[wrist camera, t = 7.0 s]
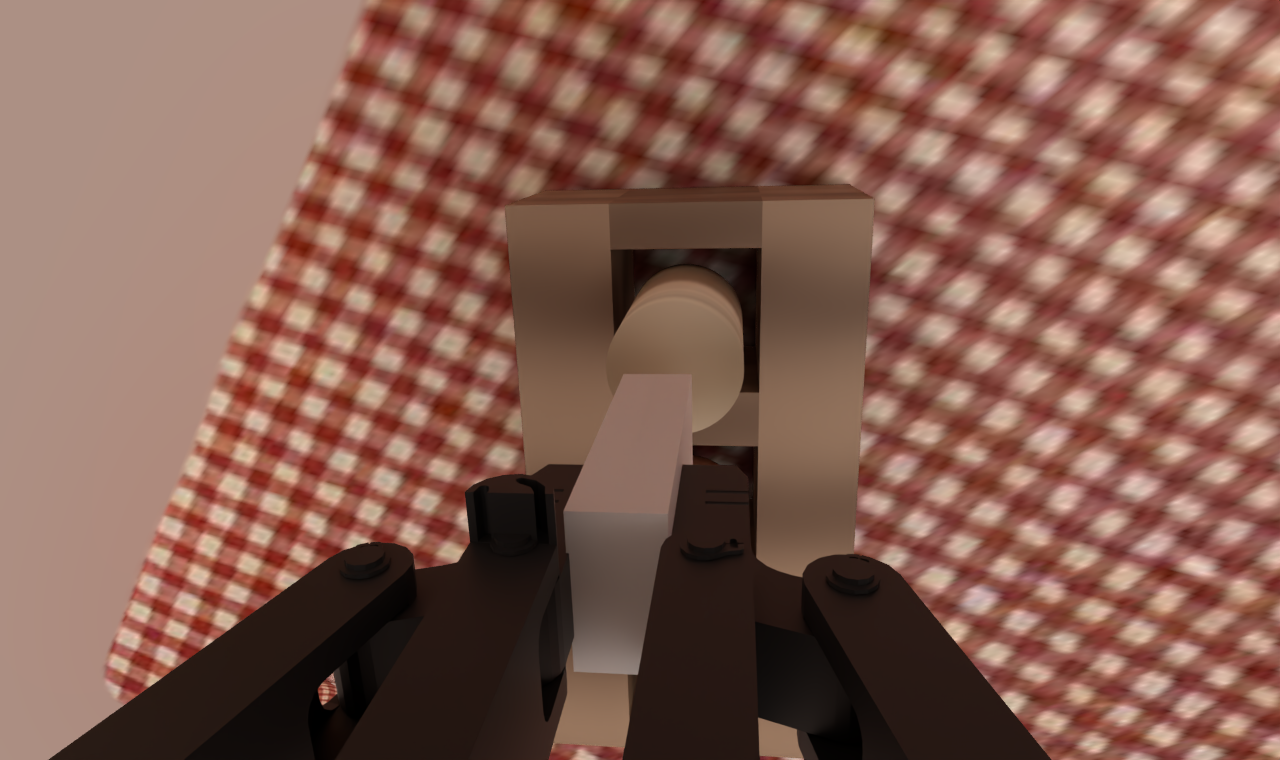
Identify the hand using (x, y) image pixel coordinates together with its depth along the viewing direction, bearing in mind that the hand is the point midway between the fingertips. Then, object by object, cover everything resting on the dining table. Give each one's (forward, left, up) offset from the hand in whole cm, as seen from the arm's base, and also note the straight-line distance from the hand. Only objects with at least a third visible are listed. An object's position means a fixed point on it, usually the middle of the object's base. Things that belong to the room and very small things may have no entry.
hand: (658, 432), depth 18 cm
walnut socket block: (+7, 0, -16) cm, 17 cm away
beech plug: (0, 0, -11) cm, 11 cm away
